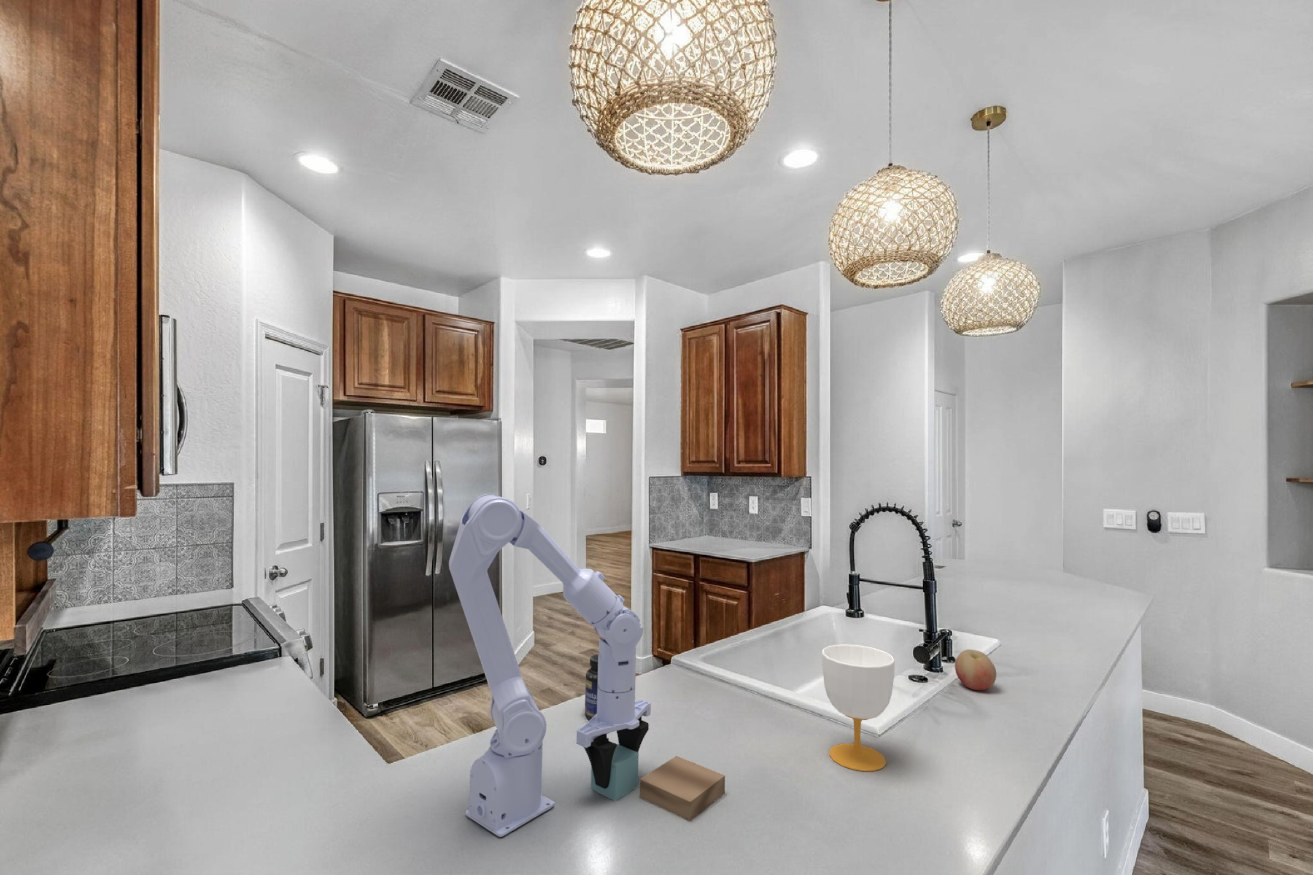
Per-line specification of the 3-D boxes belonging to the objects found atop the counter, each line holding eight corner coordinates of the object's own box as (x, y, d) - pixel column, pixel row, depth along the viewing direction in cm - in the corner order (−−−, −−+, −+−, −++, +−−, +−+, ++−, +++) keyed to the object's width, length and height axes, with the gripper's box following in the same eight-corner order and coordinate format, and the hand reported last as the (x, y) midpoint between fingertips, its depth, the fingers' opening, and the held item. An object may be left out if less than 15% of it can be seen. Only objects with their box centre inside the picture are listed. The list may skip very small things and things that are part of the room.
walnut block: (689, 824, 81) (690, 801, 81) (639, 799, 86) (639, 778, 86) (724, 796, 88) (725, 775, 88) (676, 775, 93) (676, 755, 93)
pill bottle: (578, 717, 112) (579, 659, 113) (596, 706, 118) (597, 650, 118) (605, 725, 110) (606, 664, 110) (622, 713, 115) (623, 655, 115)
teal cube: (615, 800, 85) (616, 765, 85) (590, 788, 88) (591, 754, 88) (637, 786, 89) (638, 752, 89) (613, 775, 92) (614, 742, 92)
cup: (813, 764, 97) (814, 658, 97) (828, 735, 107) (829, 640, 108) (890, 783, 91) (890, 671, 92) (898, 751, 102) (898, 650, 102)
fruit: (959, 692, 129) (959, 655, 129) (952, 679, 137) (952, 644, 137) (1000, 696, 127) (1000, 659, 127) (990, 683, 134) (990, 648, 135)
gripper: (602, 708, 81) (600, 809, 81) (666, 678, 93) (665, 767, 92) (567, 694, 86) (564, 790, 85) (632, 668, 97) (630, 753, 96)
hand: (614, 777), depth 89 cm, fingers closed on teal cube, 5 cm apart
